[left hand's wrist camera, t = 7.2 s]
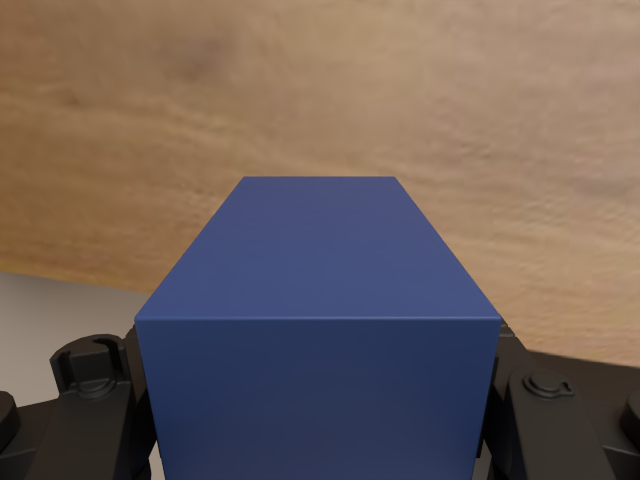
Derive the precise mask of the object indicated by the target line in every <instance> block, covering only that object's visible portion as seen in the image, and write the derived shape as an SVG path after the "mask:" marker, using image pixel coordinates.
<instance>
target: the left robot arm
mask: <svg viewBox="0 0 640 480" xmlns="http://www.w3.org/2000/svg"><path fill="white" fill-rule="evenodd" d="M499 315H500V314H499ZM500 316H501V315H500ZM501 318H502V317H501ZM50 364H51V367H52V370H53V374H54V377H55V381H56V384H57V387H58V391H59V397H58V398H57V399H53V400H50V401H46V402H41V403H36V404H32V405H27V406H22V407H18V408H17V407H16V404H15V401H14V398H13V396H12V395H10V394H9V393H8V392H5V391H0V480H151V468H150V463H149V456H150V454H151V451H152V449H153V447H154V445H155V442H156V440H157V444H158V439H157V434H156V429H155V424H154V419H153V414H152V409H151V403H150V398H149V393H148V388H147V383H146V378H145V372H144V367H143V362H142V357H141V352H140V347H139V342H138V336H137V331H136V326H135V324H134V325H133V329H130V331H129V332H128V333H127V335H126V338H124V339H123V340H122V339H121V338H120V337H118V336H115V335H110V334H96V335H91V336H87V337H83V338H80V339H77V340H75V341H73V342H70V343H68V344H66V345H65V346H63V347H62V348H60V349H59V350H58V351H56V352H55V354H54V355H53V356H52V357H51V358H50ZM483 440H485V442H486V444H487V446H488V449H489V451H490V453H491V455H492V458H491V462H490V467H489V472H488V477H487V480H640V389H638V390H634V391H632V392H631V393H630V394H628V396H627V399H626V402H625V405H624V406H621V405H617V404H612V403H607V402H603V401H598V400H594V399H590V398H586V397H582V396H581V394H580V392H579V391H578V389H577V388H576V387H575V385H574V384H573V383H571V382H570V381H569V380H568V379H566V378H565V377H564V376H562V375H560V374H558V373H555V372H553V371H551V370H548V369H544V368H541V367H539V365H538V364H537V363H536V361H535V360H534V359H533V358H532V356H531V355H530V354H529V352H528V351H527V350H526V348H525V347H524V346H523V344H522V343H521V342H520V340H519V339H518V338H517V337H515V334H514V333H513V331H512V330H511V329H510V327H508V325H507V323H506V322H505V321H504V319H503V318H502V322H501V328H500V333H499V338H498V343H497V349H496V354H495V359H494V364H493V370H492V375H491V380H490V385H489V391H488V396H487V401H486V406H485V412H484V417H483V422H482V428H481V433H480V438H479V443H478V449H477V454H476V458H480V455H481V450H482V445H483ZM158 449H159V445H158ZM159 454H160V450H159ZM160 458H161V455H160Z"/></svg>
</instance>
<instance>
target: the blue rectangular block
mask: <svg viewBox="0 0 640 480" xmlns="http://www.w3.org/2000/svg"><path fill="white" fill-rule="evenodd" d="M134 321H135V326H136V331H137V336H138V342H139V347H140V352H141V357H142V362H143V367H144V372H145V378H146V383H147V388H148V393H149V398H150V403H151V409H152V414H153V419H154V424H155V429H156V434H157V439H158V445H159V450H160V455H161V460H162V465H163V470H164V475H165V480H472V475H473V469H474V464H475V459H476V454H477V449H478V443H479V438H480V433H481V428H482V422H483V417H484V412H485V406H486V401H487V396H488V391H489V385H490V380H491V375H492V370H493V364H494V359H495V354H496V349H497V343H498V338H499V333H500V328H501V322H502V318H501V316H500V315H499V313H498V312H497V311H496V309H495V308H494V307H493V305H492V304H491V303H490V301H489V300H488V299H487V297H486V296H485V295H484V294H483V292H482V291H481V290H480V288H479V287H478V286H477V284H476V283H475V282H474V280H473V279H472V278H471V276H470V275H469V274H468V272H467V271H466V270H465V268H464V267H463V266H462V265H461V263H460V262H459V261H458V259H457V258H456V257H455V255H454V254H453V253H452V251H451V250H450V249H449V247H448V246H447V245H446V243H445V242H444V241H443V240H442V238H441V237H440V236H439V234H438V233H437V232H436V230H435V229H434V228H433V226H432V225H431V224H430V222H429V221H428V220H427V218H426V217H425V216H424V215H423V213H422V212H421V211H420V209H419V208H418V207H417V205H416V204H415V203H414V201H413V200H412V199H411V197H410V196H409V195H408V193H407V192H406V191H405V190H404V188H403V187H402V186H401V184H400V183H399V182H398V180H397V179H396V178H395V177H243V178H242V180H241V181H240V182H239V183H238V185H237V186H236V187H235V189H234V190H233V191H232V192H231V194H230V195H229V196H228V198H227V199H226V200H225V201H224V203H223V204H222V205H221V207H220V208H219V209H218V210H217V212H216V213H215V214H214V216H213V217H212V218H211V220H210V221H209V222H208V223H207V225H206V226H205V227H204V229H203V230H202V231H201V232H200V234H199V235H198V236H197V238H196V239H195V240H194V241H193V243H192V244H191V245H190V247H189V248H188V249H187V250H186V252H185V253H184V254H183V256H182V257H181V258H180V260H179V261H178V262H177V263H176V265H175V266H174V267H173V269H172V270H171V271H170V272H169V274H168V275H167V276H166V278H165V279H164V280H163V281H162V283H161V284H160V285H159V287H158V288H157V289H156V290H155V292H154V293H153V294H152V296H151V297H150V298H149V299H148V301H147V302H146V304H145V305H144V306H143V307H142V309H141V310H140V311H139V313H138V314H137V315H136V316H135V319H134Z"/></svg>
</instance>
